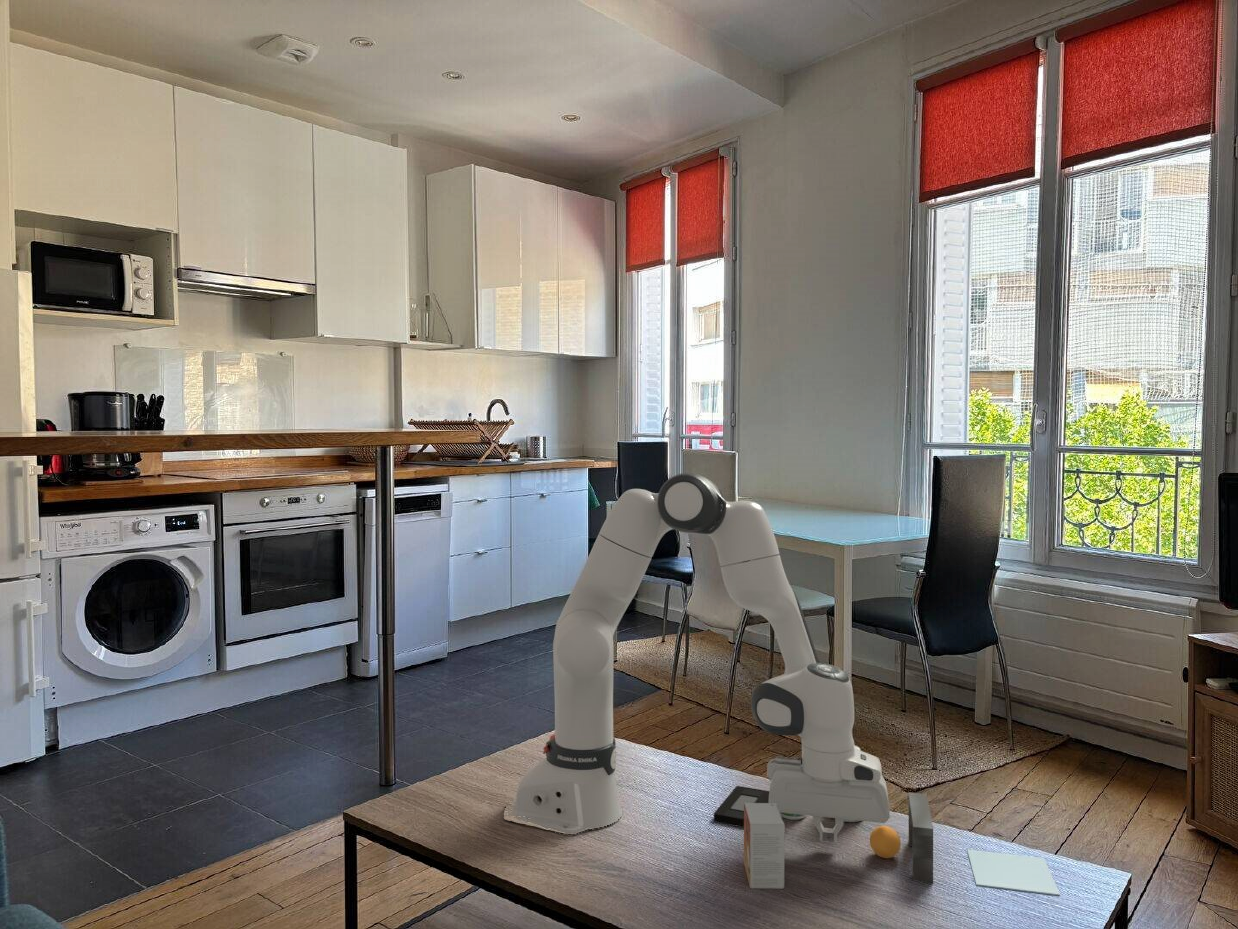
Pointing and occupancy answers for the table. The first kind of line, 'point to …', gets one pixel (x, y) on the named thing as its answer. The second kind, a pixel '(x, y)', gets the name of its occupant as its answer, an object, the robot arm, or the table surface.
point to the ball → (885, 841)
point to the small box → (764, 845)
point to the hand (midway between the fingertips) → (828, 840)
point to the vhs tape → (739, 805)
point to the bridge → (921, 837)
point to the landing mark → (1012, 872)
